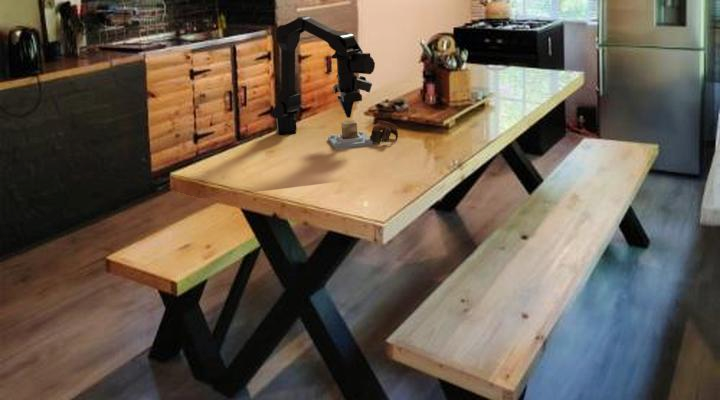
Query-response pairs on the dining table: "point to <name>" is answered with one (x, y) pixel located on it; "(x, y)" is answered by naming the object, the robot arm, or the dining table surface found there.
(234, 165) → the dining table surface
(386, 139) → the pottery mug
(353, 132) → the block
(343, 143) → the board
